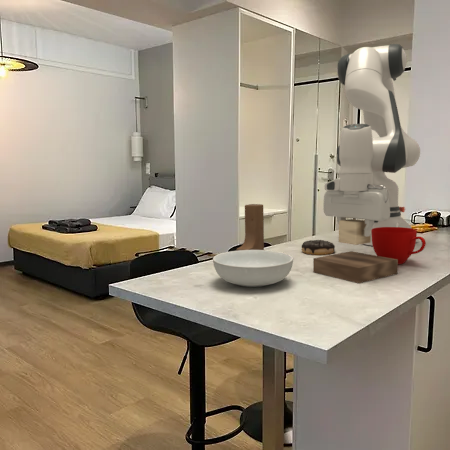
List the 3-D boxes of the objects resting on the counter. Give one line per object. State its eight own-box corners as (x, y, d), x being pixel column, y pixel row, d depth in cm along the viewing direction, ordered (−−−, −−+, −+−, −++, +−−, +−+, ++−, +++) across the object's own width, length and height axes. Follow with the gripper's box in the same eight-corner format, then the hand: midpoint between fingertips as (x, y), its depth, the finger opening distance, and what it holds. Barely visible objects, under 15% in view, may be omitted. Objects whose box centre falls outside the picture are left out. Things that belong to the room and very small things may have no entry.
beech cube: (353, 239, 128) (353, 218, 127) (370, 242, 123) (370, 220, 122) (338, 242, 125) (338, 220, 124) (355, 244, 120) (356, 222, 119)
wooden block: (247, 264, 140) (246, 206, 138) (236, 262, 143) (235, 206, 141) (264, 259, 147) (263, 204, 144) (253, 257, 150) (252, 203, 147)
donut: (295, 253, 157) (295, 241, 157) (316, 248, 165) (316, 237, 164) (320, 257, 149) (320, 245, 148) (342, 252, 156) (342, 241, 156)
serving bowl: (207, 293, 109) (206, 265, 108) (219, 273, 130) (219, 249, 129) (293, 294, 106) (293, 266, 105) (292, 273, 127) (292, 249, 126)
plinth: (351, 264, 136) (351, 251, 136) (397, 273, 123) (397, 259, 123) (313, 272, 127) (313, 258, 127) (358, 283, 114) (359, 268, 114)
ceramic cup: (410, 271, 126) (411, 235, 125) (361, 261, 140) (362, 229, 139) (437, 264, 133) (438, 231, 132) (388, 256, 147) (389, 225, 146)
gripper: (396, 184, 115) (394, 237, 117) (335, 183, 132) (334, 229, 134) (380, 185, 112) (379, 240, 113) (320, 184, 129) (319, 231, 130)
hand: (354, 234), depth 124 cm, fingers closed on beech cube, 6 cm apart
